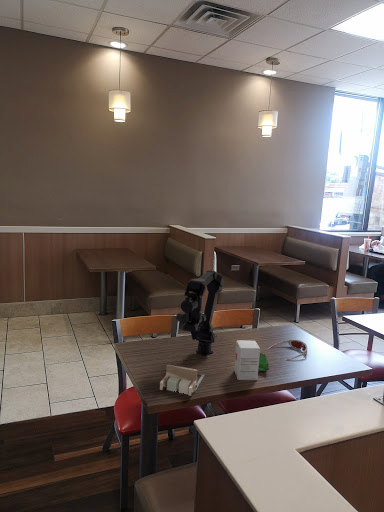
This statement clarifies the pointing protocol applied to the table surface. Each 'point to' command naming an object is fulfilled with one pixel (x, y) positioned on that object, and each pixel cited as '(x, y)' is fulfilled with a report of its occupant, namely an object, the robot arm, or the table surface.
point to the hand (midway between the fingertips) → (193, 339)
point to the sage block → (173, 384)
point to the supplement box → (247, 360)
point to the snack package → (263, 362)
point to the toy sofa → (180, 376)
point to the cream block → (184, 386)
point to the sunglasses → (295, 346)
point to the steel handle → (198, 380)
